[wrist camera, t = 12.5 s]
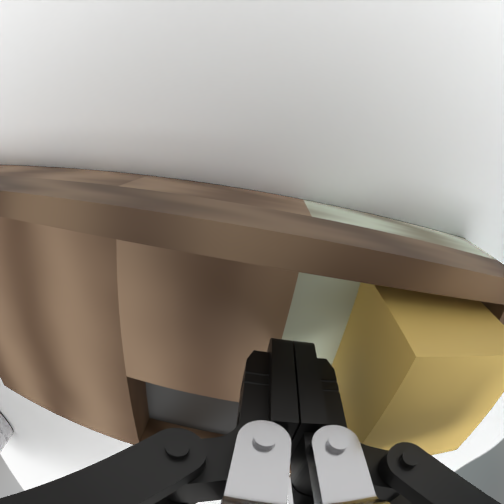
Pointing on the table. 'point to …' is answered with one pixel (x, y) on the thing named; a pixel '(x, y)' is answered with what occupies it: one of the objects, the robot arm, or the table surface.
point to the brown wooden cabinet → (188, 290)
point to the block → (418, 368)
